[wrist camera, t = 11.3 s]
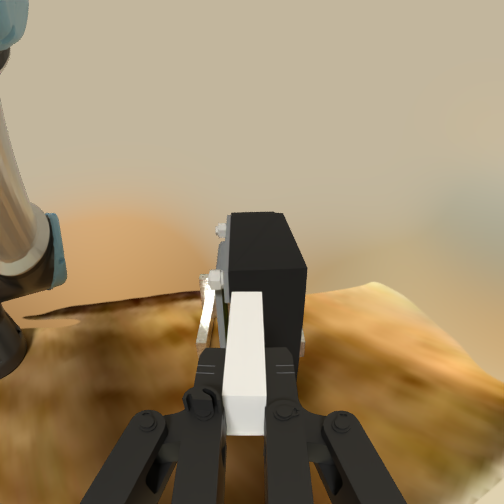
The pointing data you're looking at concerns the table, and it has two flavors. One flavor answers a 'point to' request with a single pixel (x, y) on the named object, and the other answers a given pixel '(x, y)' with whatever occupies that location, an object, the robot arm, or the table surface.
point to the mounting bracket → (211, 312)
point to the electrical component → (262, 276)
